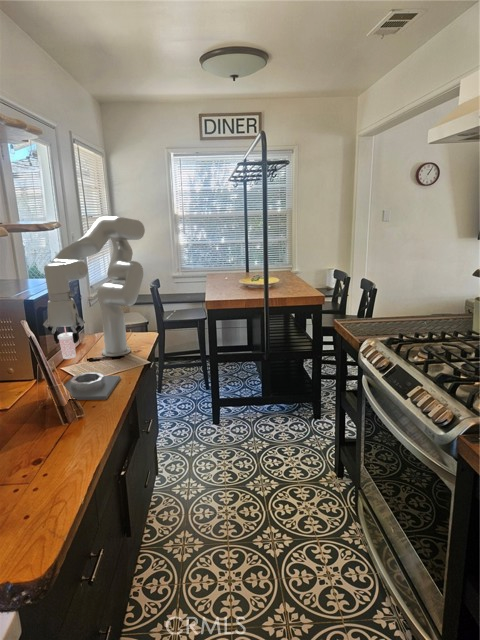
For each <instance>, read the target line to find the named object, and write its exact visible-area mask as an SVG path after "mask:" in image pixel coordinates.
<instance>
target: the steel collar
mask: <svg viewBox="0 0 480 640" xmlns="http://www.w3.org/2000/svg"><path fill="white" fill-rule="evenodd" d="M104 376H105V374H102V373H100V372H94V371H93V372H84V373H80V374H77V375H74V377H73V376H72V377H73V379H72V380H71V389H73V390H75V391H76V392H91V391H94V390H97V389H100V388H102V386H103V385H104V384H105V380H104ZM87 381H91V382H87Z"/></svg>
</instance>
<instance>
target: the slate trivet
mask: <svg viewBox="0 0 480 640" xmlns="http://www.w3.org/2000/svg"><path fill="white" fill-rule="evenodd" d="M74 376H75V375H74ZM74 376H71V377H70V379H68V380H67V381H66V382H65V384H64V385H63V386H65V387H66V389H67V390H68V391H69V392H70V394H71V395H72V397H73V398H75V399H77V400H76V401H87V400H89V401H91V400H92V401H98V400H102V401H103V400H108V398H109V396H110V395H111V394H112V392H113V391H114V389H115V388H116V386H117V384H118V383H119V382H120V380H121V375H104V380H105V384H104V385H103V386H102V388H100V389H97V390H94V391H91V392H76V391H75V390H73V389H71V380H72V379H73V377H74ZM87 382H91V381H87Z"/></svg>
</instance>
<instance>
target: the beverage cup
mask: <svg viewBox="0 0 480 640" xmlns="http://www.w3.org/2000/svg"><path fill="white" fill-rule="evenodd" d="M72 334H73V331H72V332H71V331H70V332H68V331H67V328H66V327H64V332H62V333H60V334H59V335H58V336H57V337H58V339H59V346H60V350H61V353H62V359H64V360H71V359H74V358H76V356H77V353H76V343H74V342H73V335H72Z"/></svg>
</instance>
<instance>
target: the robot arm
mask: <svg viewBox="0 0 480 640" xmlns="http://www.w3.org/2000/svg"><path fill="white" fill-rule="evenodd" d="M145 228H146V227H145V226H144V224H143V222H142V221H140V220H139V219H133V218H128V217H124V216H100V217H98V218H96V220H95V221H93V223H92V225H90V227H89V228H88V229H87V231H86V232H85V233H84V234H83V235H82V237H80V238H79V239H77V240H75V241H73V242H71V243H70V244H68V245H67V246H65V247H63V248H62V249H60V250H59V252H58V253H56V255H55V256H54V257H53V258H52V261H50V263H46V264H45V265H44V267H43V270H44V278H45V282H46V283H45V284H46V287H47V294H48V301H47V319H45V321H44V322H43V324H42V326H43V327H44V328H46V329H47V330H48V331H49V332H51V334H52V335H53V339H54V341H55V344H60V342H59V339H58V337H57V336H58V335H59V334H61V333H60V331H58V330H59V328H62V327H67V328H68V327H70V329H71V330H72V333H73V334H72V335H73V342H74V343H75V344H77V343H78V341H79V340H80V334H79V331H80V330H81V329H82V327H83V326H84V325H85V324H86V321H85V320H83V318H81V317H80V315H79V311H78V307H77V304H76V300H75V299H74V298H73V297H75V293H74V292H72V291H71V288H70V281H77V280H78V281H79V280H82V279H84V278H85V277H86V276H87V275H88V271H89V267H88V265H87V264H86V263H85V262H84V261H82V260H81V259H85V258H87V257H92V256H94V255H96V254H98V253H100V252H101V251H102V249H103V248H104V246H105V245H106V244H107V242H108V241H109V240H111V243H112V246H113V248H112V249H113V251H112V255H111V256H110V257H111V259H110V260H109V261H110V262H109V264H108V268H107V275H106V276H107V277H108V279H109V280H110V281H112V282H106V283H102V284H101V285H99V286H98V288H97V292H96V295H97V300H98V303H99V305H100V306H99V307H100V311H101V321H102V332H103V339H104V341H103V342H104V348H103V349H102V350H101V355H103V356H104V357H120V356H121V357H122V356H125V355H127V354H128V355H129V353H130V352H132V351H131V350H132V349H131V347H129V346H128V345H127V344H128V342H127V332H126V319H125V312H124V309H123V307H131V306H133V305H135V304H136V302H137V301H138V300H137V299H138V297H139V293H140V291H141V286H142V283H143V278H144V268H143V266H142V264H141V263H140V262H138V261H136V260H132V258H133V249H132V246H131V245H130V243H129V240H130V241H131V240H132V241H139V240H141V239H142V238H143V237H144V235H145V230H146V229H145ZM78 323H79V324H78ZM77 324H78V325H77Z"/></svg>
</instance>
